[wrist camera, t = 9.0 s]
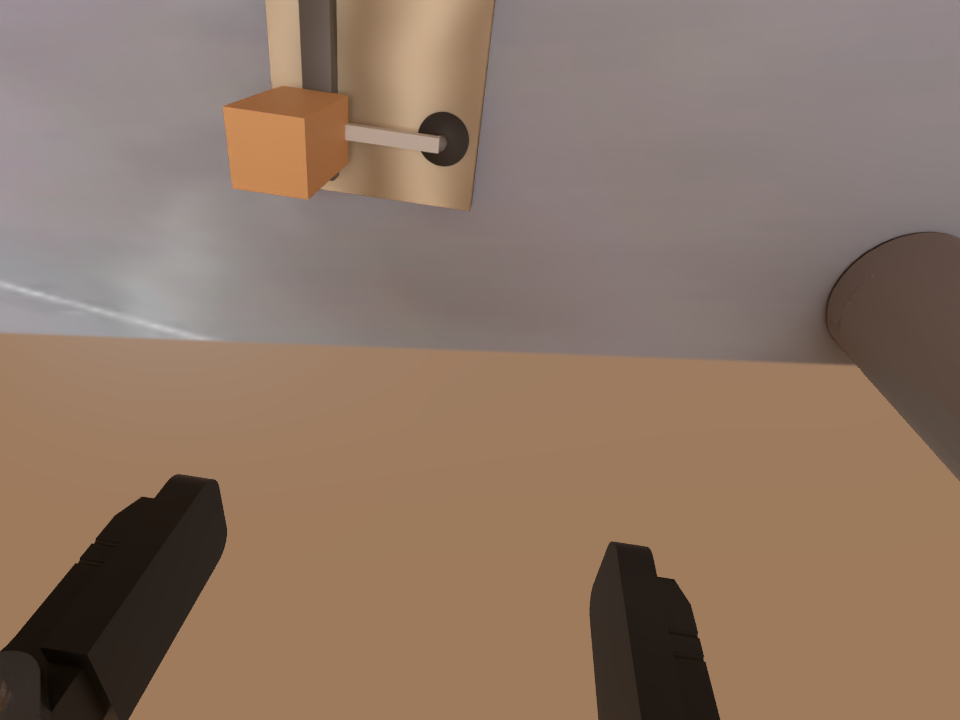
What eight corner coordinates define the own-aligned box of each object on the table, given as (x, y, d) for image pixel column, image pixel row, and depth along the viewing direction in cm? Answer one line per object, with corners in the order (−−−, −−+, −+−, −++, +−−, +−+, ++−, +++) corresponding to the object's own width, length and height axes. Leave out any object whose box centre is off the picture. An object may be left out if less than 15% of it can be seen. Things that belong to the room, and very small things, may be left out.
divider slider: (451, 107, 31) (430, 136, 24) (445, 173, 33) (424, 216, 26) (288, 83, 31) (222, 106, 24) (292, 150, 33) (232, 188, 26)
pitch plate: (522, -236, 25) (519, -351, 17) (471, 205, 36) (453, 265, 28) (255, -276, 25) (121, -410, 17) (285, 177, 36) (214, 230, 28)
